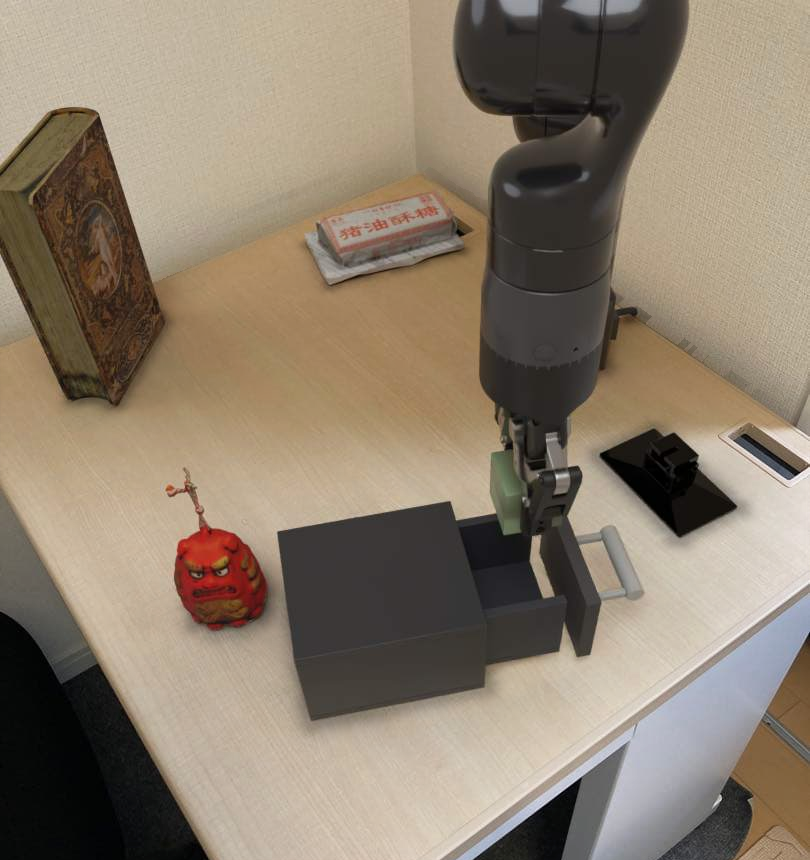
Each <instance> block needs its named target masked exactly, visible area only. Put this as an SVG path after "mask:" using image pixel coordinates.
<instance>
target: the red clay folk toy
mask: <svg viewBox="0 0 810 860" xmlns="http://www.w3.org/2000/svg"><path fill="white" fill-rule="evenodd" d="M182 470H183V472H184V473H185V475H184V478H185V481H184V482H183V485H184V488H175V487H174V486H173V485H172V484H167V485H166V487H165V492H166V494H167V496H168V498H173V497H175V496H176V495H178V494H185V493H187V494H188V495H189V497H190V499H191V501H192V503H193V505H194V507H195V509H194V512H195V513H196V514H197V515H198V528H199V530H198V531H195V532H193V533H192V534H191V535H189V536H188V537H187V538H182V539H180V540H179V541H178V543H177V547H176V557H175V561H174V571H173V581H174V584H175V590H176V593H177V595H178V597H179V598H180V601H181V605H182V607H183V608H184V609H185V610H186V611H187V612H188V613H189V615H190V617H191V618H192V620H193V621H194V622H195V623H197V624H202V625H205V626H206V627H207V628H208V629H209V630H212V631H215V630H217V631H218V630H220V629H221V630H222V629H223V628H224V627H225V626H231V627H232V628H239V627H243V626H244V625H246V624H247V623H249V622H250V621H253V620H256V619H258V618H259V617H260V616H261V615H262V613H263V612H264V605H265V601H266V596H267V592H268V581H267V579H266V577H265V574H264V572H263V571H262V568H261V565H260V563H259V560H258V559H257V557H256V556H255V554H254V552H252V549H251V547H250V546H249V545H248V544H247V543H244V542H243V540H242V539H241V538H240V537H239V536H238V535H237V534H236V533H235V532H230V531H228V530H225V529H222V528H217V527H215V528H214V527H213V528H212V527H211V526H210V525H209V524H208V522H207V521H206V519H205V517H204V516H203V515H204V512H205V508H204V506H203V505H200V504H199V499H198V495H197V492H196V490H197V489H198V486H197V485H196V486H195V484H194V482H192V481H191V473H190V471H189V469H188V468H187V467H183V468H182Z"/></svg>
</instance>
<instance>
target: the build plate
mask: <svg viewBox="0 0 810 860" xmlns="http://www.w3.org/2000/svg"><path fill="white" fill-rule="evenodd" d="M699 457H700V455H699V453H697V452H696V450H694V449H693V448H692V447H691V446H690V445H689V444H688V442H687V443H686V441H684V440H683V439H682V438H681V436H679V435H678V433H676V432H671V433H669V434H666V435H664V434H663V433H662V432H660V431H659V430H658V429H656V428H651V429H649V430H647V431H645V432H643V433H641V434H639V435H636V436H634V437H632V438H630V439H627V440H626V441H623V442H621V443H619V444H617V445H614V446H613V447H611V448H608V449H606V450H604V451H602V452H600V453H599V458H600V460H601V461H603V463H604V464H605V465H606V466H607V467H609V469H611V471H612V472H613V473H614V474H615V475H616V476H617V477H618V478H619V479H620V480H621V481H622V482H623V483H624V484H625V485H626V486H627V487H628V488H629V489H630V490H631V491H632V492H633V494H635V495H636V496H637V497H638V498H639V500H640V501H641V502H643V504H645V506H646V507H648V509H649V510H650V511H651V512H652V513H653V514H654V515H655V516H656V517H657V518H658V519H659V520H660V521H661V523H663V524H664V525H665V526H666V527H667V528H668V530H670V531H671V532H672V533H673V535H675V537H677V538H678V539H682V538H683V537H685V536H687V535H689V534H691V533H693V532H695V531H697V530H699V529H701V528H703V527H705V526H707V525H709V524H711V523H713V522H715V521H717V520H719V519H721V518H723V517H724V516H726V515H729V514H731V513H733V512H735V511H736V510H737V509H738V505H737V504H736V503H735V502H734V501H733V500H732V499H731V498H730V497H729V496H728V495H727V494H725V492H724V491H722V490H721V489H720V488H719V486H717V485H716V484H715V483H714V482H713V481H712V480H711V479H710V478H708V476H706V475H705V474H704V473H703V472H702V471H701V470H700V469H699V467H700V463H699V462H698V461H699Z"/></svg>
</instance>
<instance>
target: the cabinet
mask: <svg viewBox="0 0 810 860" xmlns="http://www.w3.org/2000/svg"><path fill="white" fill-rule="evenodd" d="M456 520H457V518H456V515H455V512H454V508H453V505H452V501H451V500H446V501H441V502H436V503H430V504H424V505H418V506H413V507H407V508H403V509H395V510H391V511H385V512H379V513H374V514H373V513H372V514H368V515H362V516H361V515H360V516H356V517H351V518H345V519H339V520H334V521H328V522H323V523H317V524H311V525H306V526H305V525H304V526H300V527H294V528H288V529H283V530H278V531H277V532H276V534H277V542H278V549H279V550H278V551H279V557H280V565H281V566H280V567H281V573H282V580H283V587H284V596H285V604H286V611H287V617H288V618H287V620H288V625H289V632H290V634H289V635H290V641H291V649H292V655H293V662H294V665H295V669H296V674H297V676H298V677H297V678H298V680H299V684H300V687H301V691H302V696H303V699H304V702H305V706H306V709H307V714H308V717H309V720H310V721H311V722H315V721H319V720H324V719H329V718H334V717H339V716H344V715H345V716H346V715H350V714H354V713H360V712H365V711H370V710H375V709H380V708H385V707H391V706H396V705H400V704H406V703H411V702H415V701H416V702H417V701H421V700H428V699H431V698H432V699H433V698H437V697H443V696H447V695H452V694H457V693H463V692H468V691H473V690H478V689H483V688H485V684H486V683H485V681H486V666H485V662H486V638H487V622H486V619H485V615H484V612H483V609H482V605H481V602H480V599H479V595H478V592H477V588H476V585H475V582H474V578H473V575H472V572H471V568H470V565H469V562H468V558H467V555H466V551H465V548H464V545H463V541H462V538H461V535H460V531H459V528H458V524H457V521H456Z"/></svg>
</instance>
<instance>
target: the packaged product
mask: <svg viewBox="0 0 810 860" xmlns="http://www.w3.org/2000/svg"><path fill="white" fill-rule="evenodd" d="M315 225H316V230H313V231H308V232H305V233H304V234H303V236H304V238H305V241H306V245H307V247H308V248H309V251H310V252H311V254H312V256H313V258H314V260H315V262H316V265H317V266H318V268H319V271H320V273H321V274H322V276H323V278H324V280H325V281H326V282H327V285H328V286H331V285H334V284H337V283H340V282H342V281H345V280H347V279H350V278H353V277H356V276H359V275H367V274H372V273H373V274H374V273H378V272H381V271H386V270H390V269H394V268H400V267H408V266H414V265H415V264H418V263H420V262H421V261H423V260H426V259H428V258H432V257H435V256H438V255H441V254H446V253H449V252H454V251H459V250H463V249H464V246H465V243H464V241H463V240H462V239H461V237H460V236H459V235H458V234H457V230H458V223H457V220H456V219H455V216H454V211H452V209H451V207H450V206H449V205H447V203H446V202H445V199H444V197H443V196H442V195H441V192H439V190H435V189H434V190H432V191H428V192H421V193H418V194H414V195H411V196H406V197H402V198H397V199H394V200H391V201H390V200H389V201H385V202H381V203H378V204H374V205H370V206H366V207H362V208H357V209H355V210H354V209H353V210H350V211H348V212H342V213H338V214H334V215H329V216H326V217H322V218H319V219H318V220H317V221H316V222H315Z"/></svg>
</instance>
